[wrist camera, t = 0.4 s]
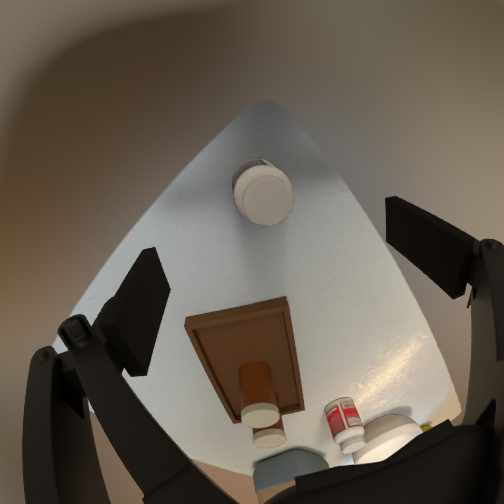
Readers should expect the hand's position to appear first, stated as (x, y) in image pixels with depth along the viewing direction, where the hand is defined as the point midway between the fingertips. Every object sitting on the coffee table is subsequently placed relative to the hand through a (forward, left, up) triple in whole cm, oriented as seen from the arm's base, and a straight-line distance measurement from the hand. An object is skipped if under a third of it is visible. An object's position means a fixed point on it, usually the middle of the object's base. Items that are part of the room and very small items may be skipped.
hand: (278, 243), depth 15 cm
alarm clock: (+71, -4, -17) cm, 73 cm away
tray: (+28, -5, -17) cm, 33 cm away
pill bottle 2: (+46, +9, -17) cm, 50 cm away
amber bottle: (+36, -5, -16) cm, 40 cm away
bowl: (+65, +21, -17) cm, 70 cm away
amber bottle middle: (+28, -5, -16) cm, 33 cm away
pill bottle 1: (0, +1, -17) cm, 17 cm away
